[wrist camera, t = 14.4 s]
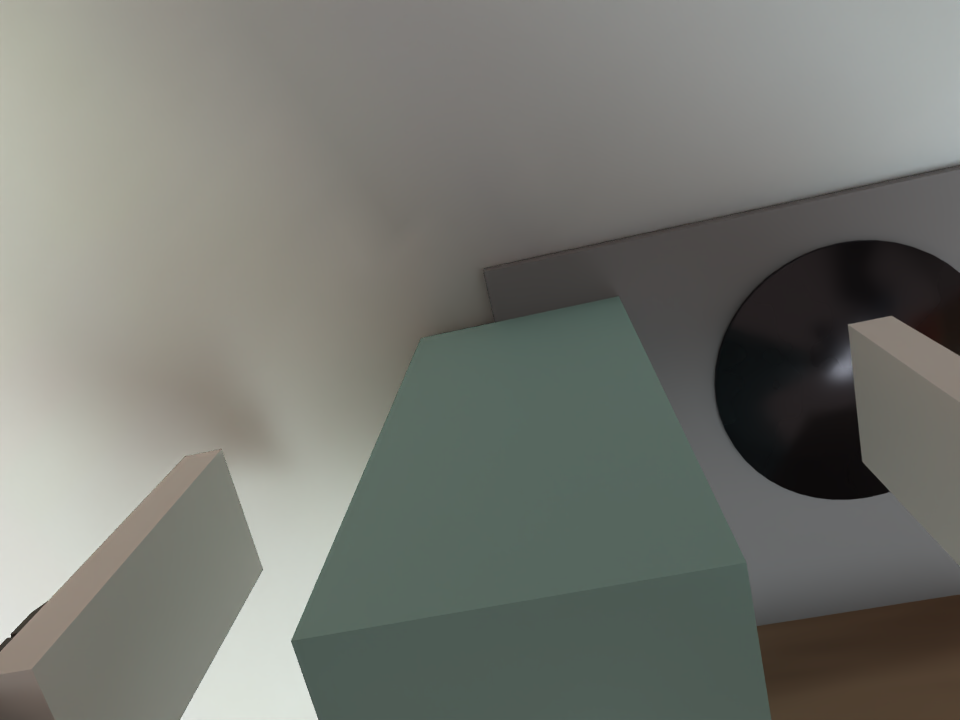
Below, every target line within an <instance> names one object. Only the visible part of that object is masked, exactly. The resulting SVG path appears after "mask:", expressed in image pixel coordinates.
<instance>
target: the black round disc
mask: <svg viewBox="0 0 960 720" xmlns="http://www.w3.org/2000/svg"><path fill="white" fill-rule="evenodd" d="M888 316H893V317H895V318H896V319H898V320H900V321H901V322H903V323H905V324H906V325H908V326H910V327H911V328H913V329H915V330H917V331H918V332H920V333H922V334H923V335H925V336H927V337H928V338H930V339H932V340H933V341H935V342H937V343H939V344H940V345H942V346H944V347H945V348H947V349H949V350H950V351H952V352H954V353H955V354H957V355H959V356H960V273H959V272H958V271H957V270H956V269H954V268H953V267H952V266H951V265H949V264H948V263H946V262H944V261H943V260H941V259H939V258H938V257H936V256H934V255H932V254H930V253H927V252H925V251H922V250H920V249H917V248H915V247H912V246H908V245H904V244H900V243H896V242H889V241H880V240H856V241H849V242H842V243H837V244H833V245H829V246H826V247H822V248H818V249H816V250H814V251H811V252H809V253H806V254H804V255H801V256H799V257H798V258H796V259H794V260H792V261H790V262H789V263H787V264H785V265H783V266H782V267H781V268H779V269H778V270H776V271H775V272H774V273H772V274H771V275H769V276H768V277H767V278H766V279H765V280H764V281H763V282H762V283H761V284H759V285H758V286H757V287H756V288H755V289H754V290H753V291H752V293H751V294H750V295H749V296H748V297H747V298H746V300H745V301H744V302H743V303H742V305H741V306H740V308H739V309H738V311H737V312H736V314H735V315H734V317H733V318H732V320H731V322H730V324H729V326H728V328H727V330H726V332H725V334H724V337H723V340H722V343H721V346H720V349H719V352H718V357H717V362H716V368H715V396H716V403H717V407H718V412H719V416H720V418H721V421H722V424H723V426H724V429H725V431H726V433H727V434H728V436H729V438H730V440H731V442H732V443H733V445H734V447H735V448H736V449H737V451H738V452H739V453H740V455H741V456H742V457H743V458H744V460H745V461H746V462H747V463H748V464H749V465H750V466H752V467H753V468H754V469H755V470H756V471H757V472H758V473H760V474H761V475H762V476H764V477H765V478H767V479H768V480H769V481H771V482H773V483H775V484H777V485H779V486H781V487H782V488H785V489H787V490H790V491H793V492H795V493H798V494H801V495H805V496H810V497H814V498H821V499H829V500H852V499H861V498H868V497H873V496H877V495H881V494H885V493H888V492H890V491H889V490H888V489H887V488H886V487H885V486H884V484H883V483H882V482H881V481H880V480H879V479H878V478H877V477H876V476H875V475H874V474H873V473H872V472H871V470H870V469H869V468H868V467H867V466H866V465H865V464H864V463H863V462H862V454H861V445H860V435H859V426H858V416H857V407H856V397H855V387H854V378H853V368H852V359H851V349H850V340H849V330H848V324H853V323H858V322H863V321H868V320H873V319H878V318H883V317H888Z"/></svg>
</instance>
